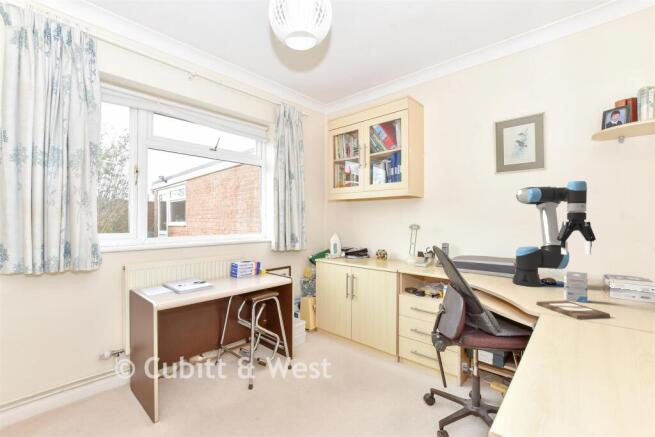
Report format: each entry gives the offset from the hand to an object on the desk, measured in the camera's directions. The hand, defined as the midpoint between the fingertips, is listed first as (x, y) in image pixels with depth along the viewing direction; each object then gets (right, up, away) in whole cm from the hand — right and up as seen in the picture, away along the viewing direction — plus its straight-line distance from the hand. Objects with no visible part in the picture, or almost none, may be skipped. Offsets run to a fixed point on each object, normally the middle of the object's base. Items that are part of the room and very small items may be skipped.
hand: (576, 254), depth 151 cm
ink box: (0, -24, 0) cm, 24 cm away
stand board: (-16, -23, -16) cm, 33 cm away
